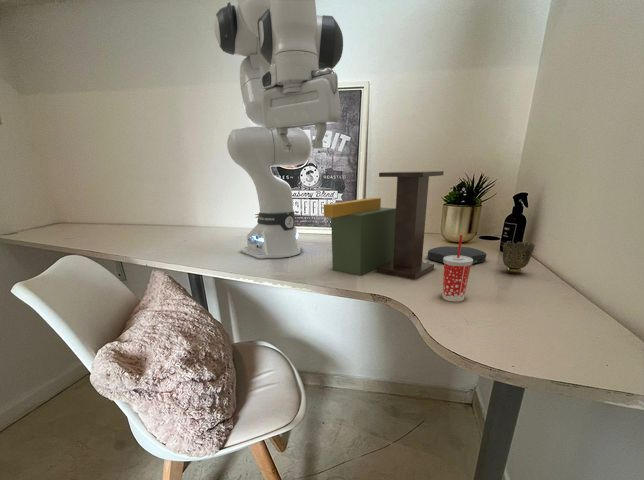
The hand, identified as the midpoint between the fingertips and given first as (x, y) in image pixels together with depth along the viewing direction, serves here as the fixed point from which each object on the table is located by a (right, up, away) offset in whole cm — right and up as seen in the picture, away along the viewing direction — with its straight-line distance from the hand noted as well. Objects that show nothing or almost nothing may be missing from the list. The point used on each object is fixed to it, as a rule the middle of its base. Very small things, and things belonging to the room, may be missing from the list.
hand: (301, 149), depth 74 cm
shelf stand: (+27, -24, +21) cm, 42 cm away
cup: (+56, -25, +17) cm, 64 cm away
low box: (+16, -22, +27) cm, 38 cm away
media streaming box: (+45, -19, +31) cm, 58 cm away
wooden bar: (+12, -9, +17) cm, 23 cm away
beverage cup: (+34, -33, +1) cm, 47 cm away
